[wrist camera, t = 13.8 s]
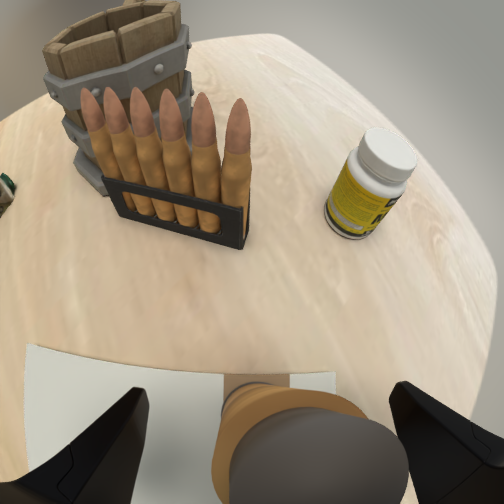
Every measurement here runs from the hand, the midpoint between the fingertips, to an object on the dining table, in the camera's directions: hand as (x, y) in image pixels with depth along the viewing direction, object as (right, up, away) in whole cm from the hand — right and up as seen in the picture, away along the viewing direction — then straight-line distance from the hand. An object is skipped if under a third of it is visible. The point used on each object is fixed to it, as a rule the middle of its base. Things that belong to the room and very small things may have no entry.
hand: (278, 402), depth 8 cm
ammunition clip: (-7, +7, +13) cm, 16 cm away
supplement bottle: (+7, +8, +15) cm, 18 cm away
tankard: (-13, +19, +18) cm, 29 cm away
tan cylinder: (-1, -5, +6) cm, 8 cm away
